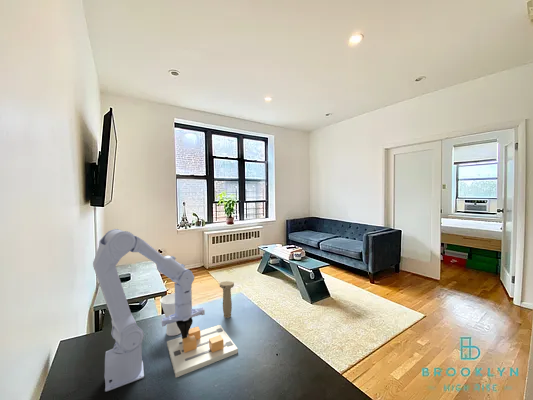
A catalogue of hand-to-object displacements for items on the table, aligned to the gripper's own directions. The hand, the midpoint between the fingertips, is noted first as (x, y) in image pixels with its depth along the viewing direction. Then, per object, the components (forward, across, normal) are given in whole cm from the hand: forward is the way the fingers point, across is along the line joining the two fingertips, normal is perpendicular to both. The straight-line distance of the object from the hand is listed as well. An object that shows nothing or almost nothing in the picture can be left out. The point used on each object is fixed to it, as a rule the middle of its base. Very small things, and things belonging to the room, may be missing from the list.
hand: (184, 339), depth 82 cm
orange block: (+1, +8, -10) cm, 13 cm away
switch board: (+2, +5, -5) cm, 7 cm away
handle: (+3, +21, +11) cm, 24 cm away
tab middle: (+1, +1, -5) cm, 5 cm away
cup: (+3, -1, +12) cm, 12 cm away
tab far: (+1, +3, 0) cm, 3 cm away
